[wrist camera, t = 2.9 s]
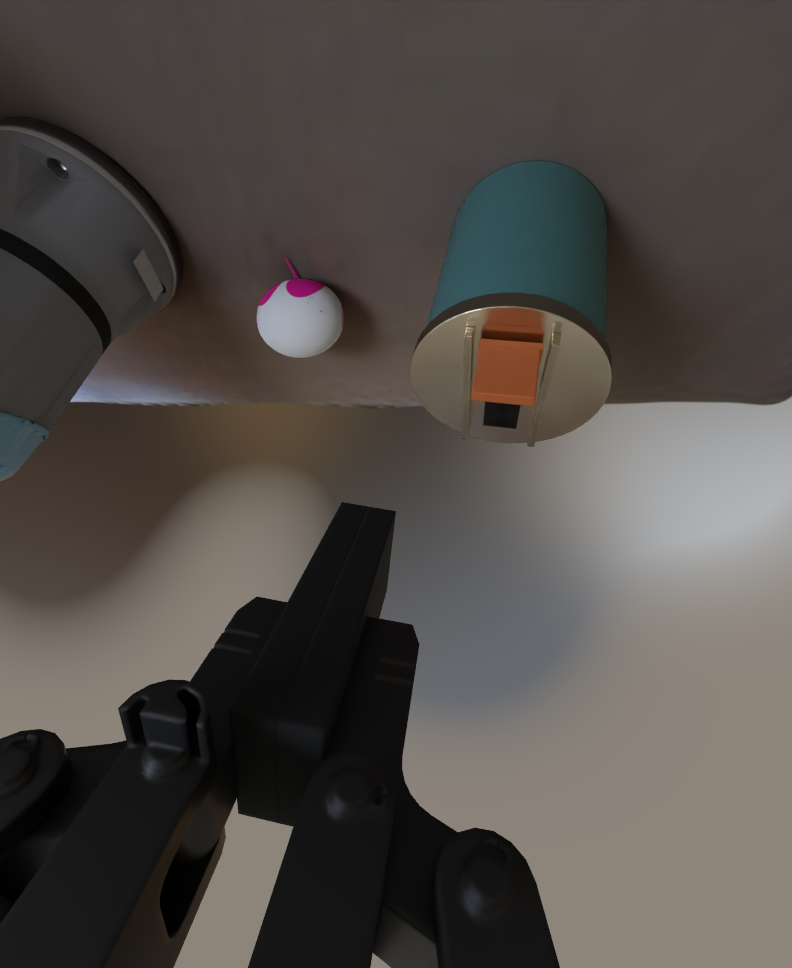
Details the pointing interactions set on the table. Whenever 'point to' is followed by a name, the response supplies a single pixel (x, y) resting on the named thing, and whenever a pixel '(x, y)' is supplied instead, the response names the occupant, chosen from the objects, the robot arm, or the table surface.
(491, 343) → the slider
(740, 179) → the table surface
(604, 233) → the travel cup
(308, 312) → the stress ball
